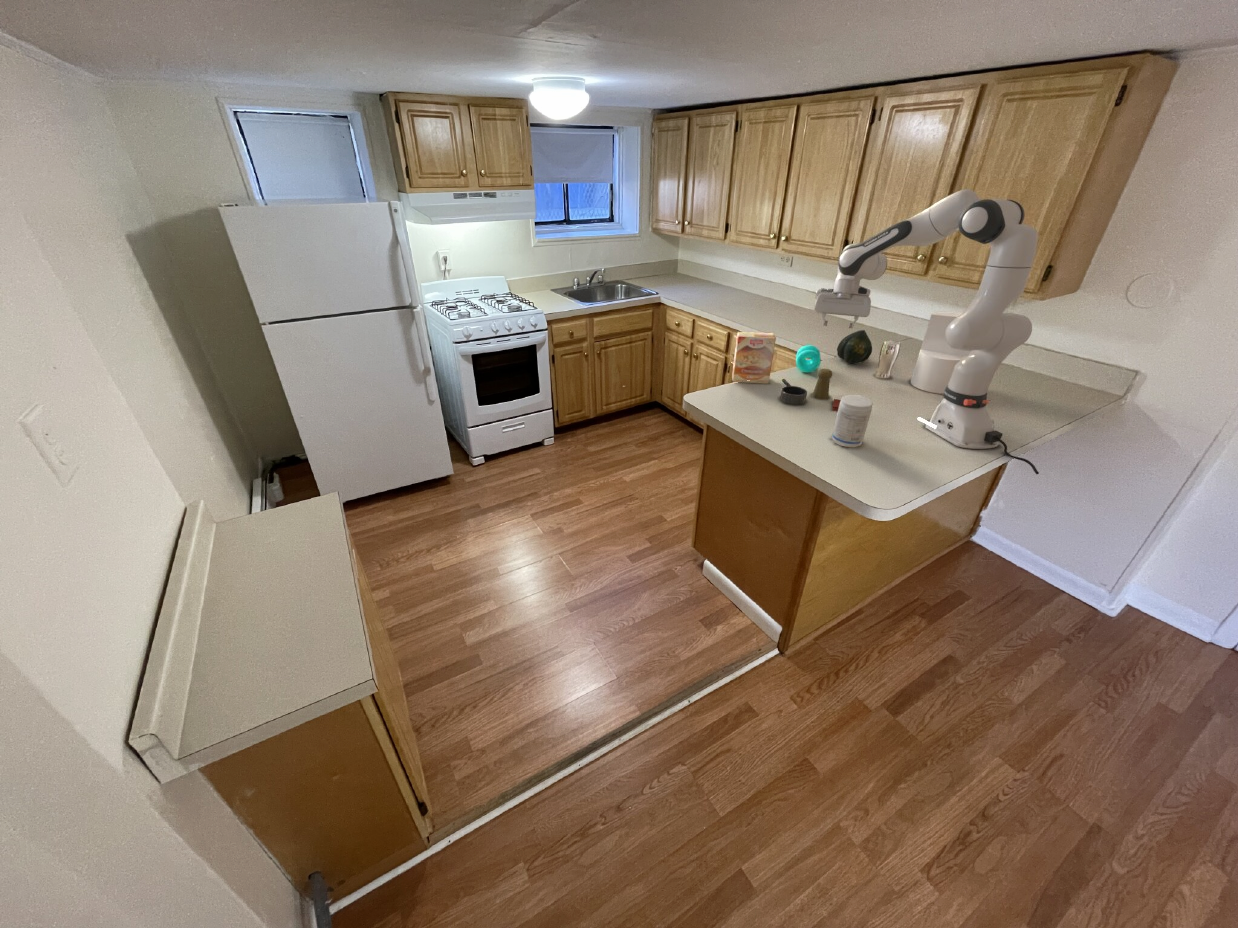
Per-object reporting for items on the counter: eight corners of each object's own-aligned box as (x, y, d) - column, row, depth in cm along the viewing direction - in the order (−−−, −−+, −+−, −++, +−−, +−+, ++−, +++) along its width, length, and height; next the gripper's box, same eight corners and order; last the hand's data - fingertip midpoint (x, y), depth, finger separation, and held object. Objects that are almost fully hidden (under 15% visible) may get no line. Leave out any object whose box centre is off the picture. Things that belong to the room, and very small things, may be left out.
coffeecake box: (732, 382, 213) (738, 336, 203) (731, 376, 219) (736, 331, 209) (769, 384, 211) (776, 337, 201) (767, 377, 217) (774, 332, 207)
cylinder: (912, 375, 220) (932, 309, 205) (958, 382, 212) (982, 315, 198) (908, 388, 207) (930, 319, 192) (957, 397, 199) (983, 325, 185)
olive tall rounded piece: (818, 400, 197) (823, 373, 191) (809, 394, 202) (814, 367, 196) (831, 398, 198) (837, 371, 192) (822, 392, 203) (828, 366, 197)
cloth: (833, 402, 195) (834, 398, 194) (852, 405, 193) (853, 401, 192) (832, 410, 189) (833, 406, 188) (852, 413, 186) (853, 409, 186)
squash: (831, 352, 229) (861, 329, 221) (830, 344, 241) (859, 322, 233) (852, 375, 230) (882, 353, 222) (850, 365, 243) (878, 344, 235)
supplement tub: (838, 432, 173) (848, 392, 166) (866, 441, 168) (878, 399, 160) (826, 441, 167) (836, 400, 160) (855, 451, 162) (866, 409, 154)
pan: (808, 405, 193) (810, 395, 191) (784, 405, 192) (786, 395, 190) (800, 395, 201) (802, 385, 199) (776, 395, 200) (778, 386, 198)
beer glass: (893, 380, 215) (903, 345, 207) (875, 378, 216) (885, 344, 208) (889, 374, 221) (899, 340, 213) (872, 373, 222) (881, 339, 214)
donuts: (794, 372, 223) (798, 350, 218) (794, 364, 231) (798, 343, 226) (818, 374, 220) (822, 352, 215) (817, 367, 228) (822, 345, 223)
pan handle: (791, 389, 199) (791, 385, 199) (787, 389, 199) (788, 385, 199) (784, 381, 206) (785, 378, 205) (781, 381, 206) (781, 378, 205)
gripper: (817, 286, 195) (809, 323, 198) (875, 290, 188) (866, 328, 191) (817, 289, 201) (809, 325, 204) (873, 293, 194) (865, 330, 197)
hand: (837, 326), depth 198 cm, fingers open, 8 cm apart
